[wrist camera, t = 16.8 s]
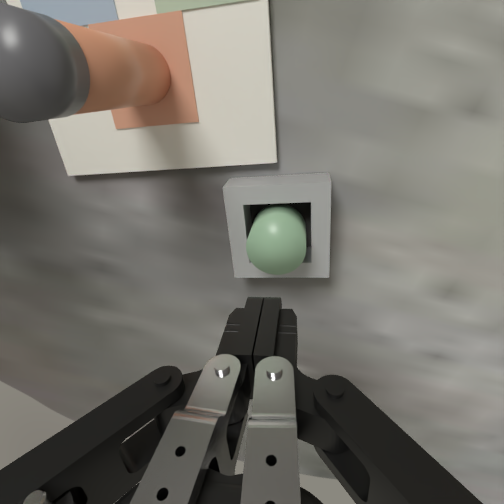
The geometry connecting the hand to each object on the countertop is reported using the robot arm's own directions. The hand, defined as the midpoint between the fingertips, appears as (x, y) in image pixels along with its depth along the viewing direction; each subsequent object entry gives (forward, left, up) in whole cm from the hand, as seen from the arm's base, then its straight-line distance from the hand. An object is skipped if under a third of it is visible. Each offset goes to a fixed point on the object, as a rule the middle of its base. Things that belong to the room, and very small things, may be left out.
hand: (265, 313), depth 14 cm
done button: (0, 0, -10) cm, 10 cm away
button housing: (0, 0, -11) cm, 11 cm away
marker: (-11, -8, -10) cm, 17 cm away
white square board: (-13, -8, -11) cm, 19 cm away
